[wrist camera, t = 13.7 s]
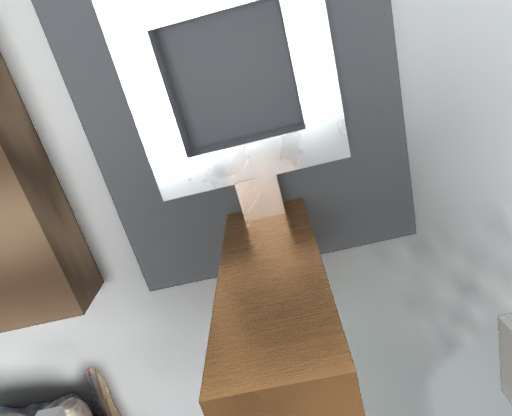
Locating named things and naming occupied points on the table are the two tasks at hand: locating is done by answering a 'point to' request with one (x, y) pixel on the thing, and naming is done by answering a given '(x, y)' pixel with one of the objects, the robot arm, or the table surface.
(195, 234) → the rubber mat
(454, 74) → the table surface
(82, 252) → the wooden peg stand
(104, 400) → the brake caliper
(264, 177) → the square frame with handle
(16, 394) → the table surface
